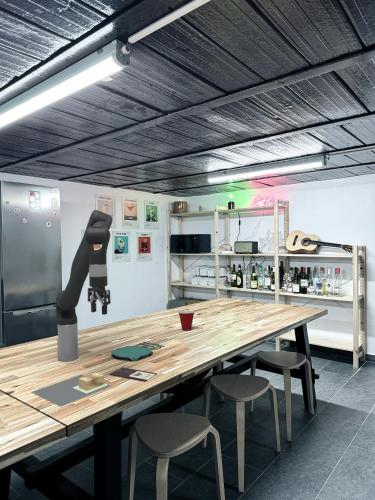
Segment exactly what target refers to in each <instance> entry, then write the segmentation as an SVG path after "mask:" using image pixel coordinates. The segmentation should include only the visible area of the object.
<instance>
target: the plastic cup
mask: <svg viewBox="0 0 375 500" xmlns="http://www.w3.org/2000/svg"><path fill="white" fill-rule="evenodd" d="M177 313H178V315H179V320H180V325H181V329H182V331H184V332H188V331H189V332H190V331H191V330H192V327H193V319H194V315H195V313H196V311H194V310H180V311H177Z"/></svg>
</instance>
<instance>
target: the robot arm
mask: <svg viewBox="0 0 375 500" xmlns="http://www.w3.org/2000/svg"><path fill="white" fill-rule="evenodd" d="M112 224H113V217H112V216H111V215H110V214H108V213H105V212H103V211H100V210H98V209H94V210H93V211H92V212H91V214H90V216H89V219H88V222H87V224H86V228H85V231H84V233H83V236H82V238H81V241H80V243H79V246H78V247H77V250H76V252H75V254H74V258H73V260H72V263H71V267H70V274H69V280H68V282H67V285H66V287H65V288H64V290H63V289H62V290H61V291H59V292H58V293H57V295H56V297H55V316H56V320H57V340H56V341H57V342H56V343H57V359H58V361H59V362H71V361H75V360H77V359H78V358H79V333H78V332H79V331H78V330H79V328H78V327H79V326H78V316H77V312H76V308H77V306H78V304H79V302H80V299H81V295H82V290H83V288H84V285H85V282H86V281H87V278H88V281H89V282H88V285H89V287H88V288H87V302H88V303H89V304H90V312H91V313H96V312H97V301H99V302H100V304H101V315H103V316H105V315H108V305H111V303H112V301H111V290H110V289H106V287H107V286H108V285H109V284H108V283H109V282H108V281H109V280H108V267H107V266H108V265H107V264H108V263H107V258H108V257H107V253H108V247H109V245H110V244H109V243H110V239H111V231H110V229H111V227H112ZM96 245H97V246H98V245H101V247H100V248H99V249H95V248H94V246H96Z"/></svg>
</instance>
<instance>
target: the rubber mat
mask: <svg viewBox="0 0 375 500" xmlns="http://www.w3.org/2000/svg"><path fill="white" fill-rule="evenodd" d="M84 376H85V375H83V374H79V375H76V376H74V377H71V378H68V379H67V378H66V379H63V380H62V381H59V382H55V383H53V384H50V385H47V386H45V387H42V388H38V389H36V390H33V391H31V392H30V393H32V394H34V395H35V396H38V397H40V398H42V399H44V400H46V401H47V402H50V403H51V404H54V405H56V406H57V407H60V408H62V407H63V406H66V405H68V404H71V403H72V402H76V401H79V400H81V399H82V398H83V399H84V398H86V397H88V396H91V395H93V394H96V393H98V392H100V391H103V390H105V389H108V388H111V387H112V385H111V384H108V383H105V382H104V384H103V385H100V386H98V387H95V388H93V389H90V390H88V391H86V390H83V389H81V388H79V378H82V377H84Z"/></svg>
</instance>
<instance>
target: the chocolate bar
mask: <svg viewBox="0 0 375 500" xmlns="http://www.w3.org/2000/svg"><path fill="white" fill-rule="evenodd" d="M157 374H158V373H156V372H154V371H153V372H152V371H147V370H140V369H134V368H128V367H120V368H118V369H116V370H114V371H113V372H111V373H109V376H111V377H117V378H122V379H127V380H133V381H136V382H137V381H138V382H144V383H146V382H148V381H149V380H151V379H152V378H154V377H156V376H157Z"/></svg>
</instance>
